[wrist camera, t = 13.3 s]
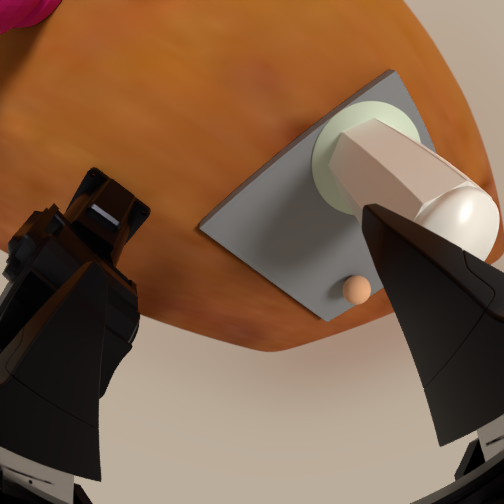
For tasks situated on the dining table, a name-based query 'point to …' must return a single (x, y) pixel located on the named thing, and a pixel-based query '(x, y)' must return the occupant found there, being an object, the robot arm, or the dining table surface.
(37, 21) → the pepper mill
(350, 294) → the ball
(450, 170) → the salt shaker
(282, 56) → the dining table surface
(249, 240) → the board
